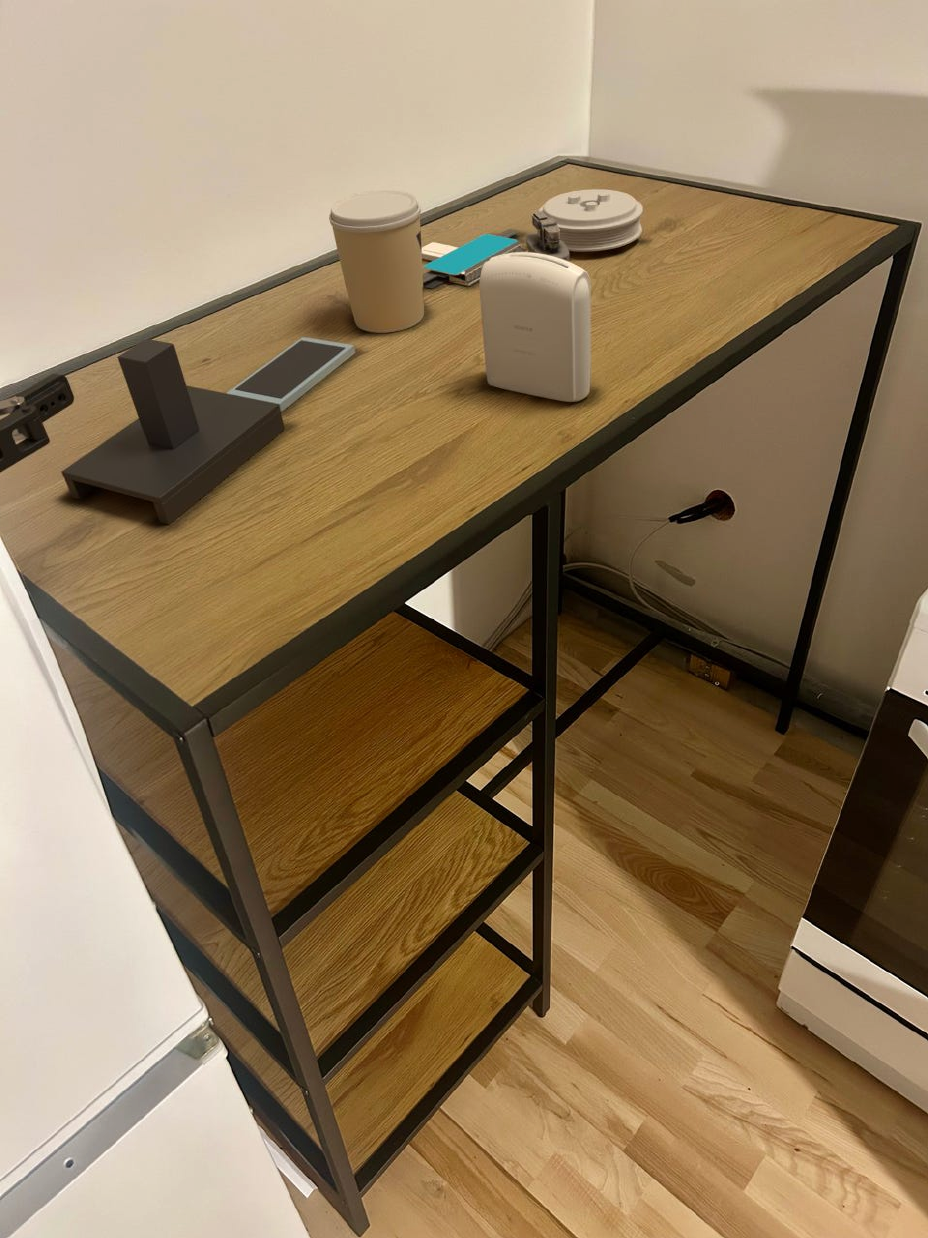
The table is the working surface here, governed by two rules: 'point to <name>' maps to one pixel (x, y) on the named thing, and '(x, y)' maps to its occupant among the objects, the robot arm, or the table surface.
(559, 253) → the lighter
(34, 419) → the robot arm
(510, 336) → the photo printer
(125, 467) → the cover
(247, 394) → the phone
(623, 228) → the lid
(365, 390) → the table surface
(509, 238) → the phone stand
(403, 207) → the coffee cup
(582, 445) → the table surface
